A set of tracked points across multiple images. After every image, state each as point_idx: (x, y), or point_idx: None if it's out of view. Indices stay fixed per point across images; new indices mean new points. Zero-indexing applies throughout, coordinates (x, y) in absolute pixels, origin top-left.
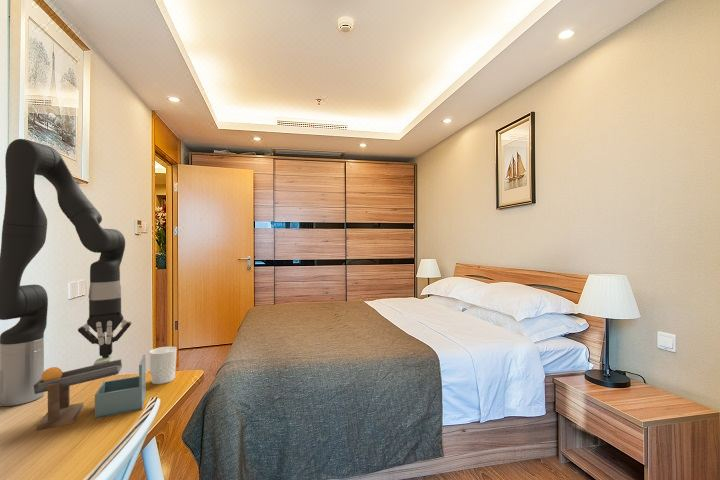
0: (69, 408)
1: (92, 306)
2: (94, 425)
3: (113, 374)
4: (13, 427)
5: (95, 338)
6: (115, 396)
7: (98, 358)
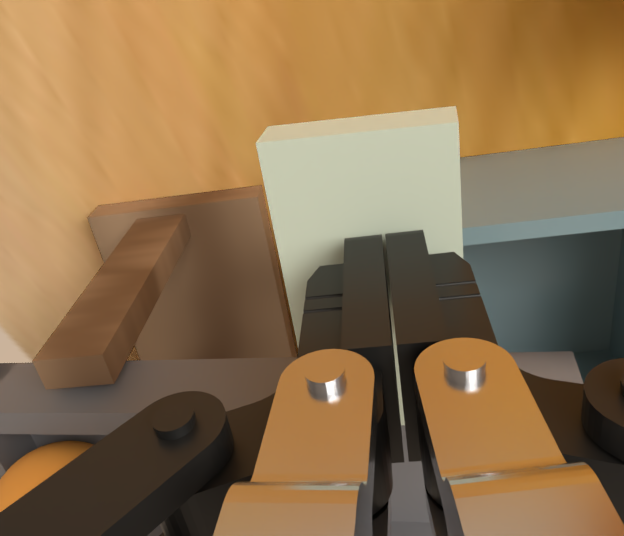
0: (212, 265)
1: None
2: None
3: None
4: (21, 320)
5: (200, 527)
6: None
7: (286, 241)
